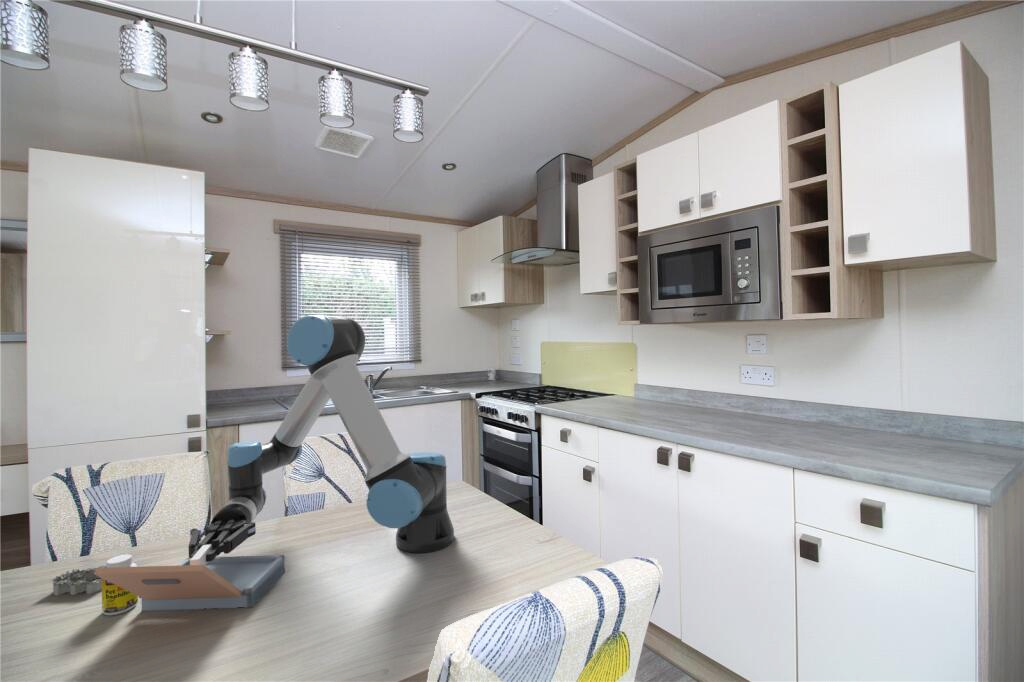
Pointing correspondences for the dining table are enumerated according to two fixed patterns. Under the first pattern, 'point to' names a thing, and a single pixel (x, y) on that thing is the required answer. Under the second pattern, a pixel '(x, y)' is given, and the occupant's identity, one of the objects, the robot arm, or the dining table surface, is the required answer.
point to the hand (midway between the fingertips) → (194, 566)
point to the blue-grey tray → (239, 571)
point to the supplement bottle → (117, 590)
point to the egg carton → (77, 582)
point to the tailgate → (170, 582)
